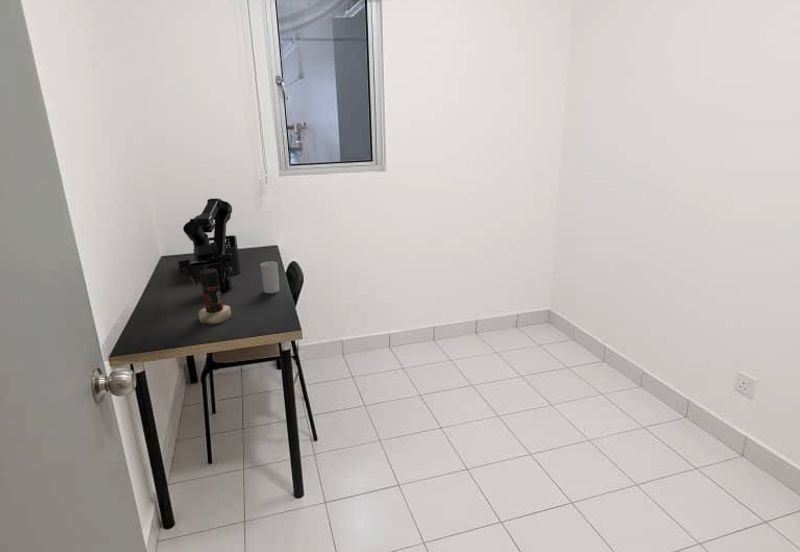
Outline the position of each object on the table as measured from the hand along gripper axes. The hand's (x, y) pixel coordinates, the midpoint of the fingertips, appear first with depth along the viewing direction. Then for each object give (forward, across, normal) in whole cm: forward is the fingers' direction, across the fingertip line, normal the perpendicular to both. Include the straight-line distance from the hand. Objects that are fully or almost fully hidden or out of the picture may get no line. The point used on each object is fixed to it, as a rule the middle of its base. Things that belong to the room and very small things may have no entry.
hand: (210, 283), depth 180 cm
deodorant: (+9, 0, +5) cm, 10 cm away
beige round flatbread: (+11, 0, +7) cm, 13 cm away
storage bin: (-35, +10, +54) cm, 65 cm away
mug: (-3, +25, +22) cm, 33 cm away
